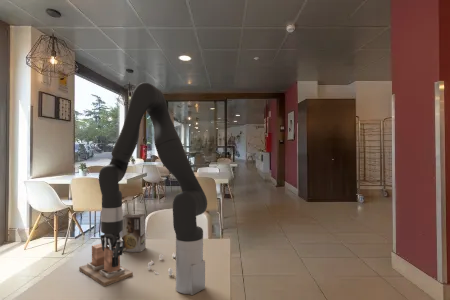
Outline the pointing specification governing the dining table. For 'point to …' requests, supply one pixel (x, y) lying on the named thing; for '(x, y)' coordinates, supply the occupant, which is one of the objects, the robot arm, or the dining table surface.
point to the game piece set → (162, 259)
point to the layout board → (97, 268)
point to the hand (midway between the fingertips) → (112, 264)
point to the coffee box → (134, 232)
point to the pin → (110, 261)
